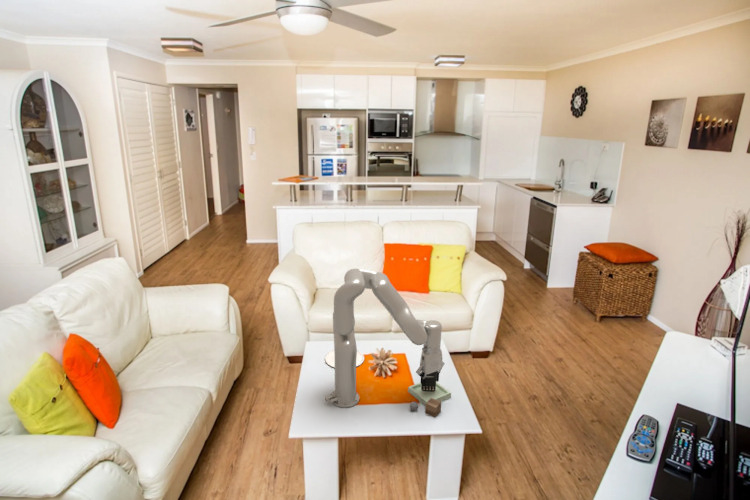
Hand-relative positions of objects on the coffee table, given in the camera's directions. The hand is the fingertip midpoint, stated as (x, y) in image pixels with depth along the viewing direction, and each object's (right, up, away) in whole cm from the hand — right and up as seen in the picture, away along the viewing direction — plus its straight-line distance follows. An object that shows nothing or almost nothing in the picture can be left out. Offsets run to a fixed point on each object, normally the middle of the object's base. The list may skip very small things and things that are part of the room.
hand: (429, 382), depth 204 cm
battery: (0, -4, +1) cm, 5 cm away
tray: (0, -6, +2) cm, 7 cm away
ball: (-8, -9, -9) cm, 15 cm away
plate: (-41, +2, +31) cm, 52 cm away
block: (0, -10, -11) cm, 15 cm away
